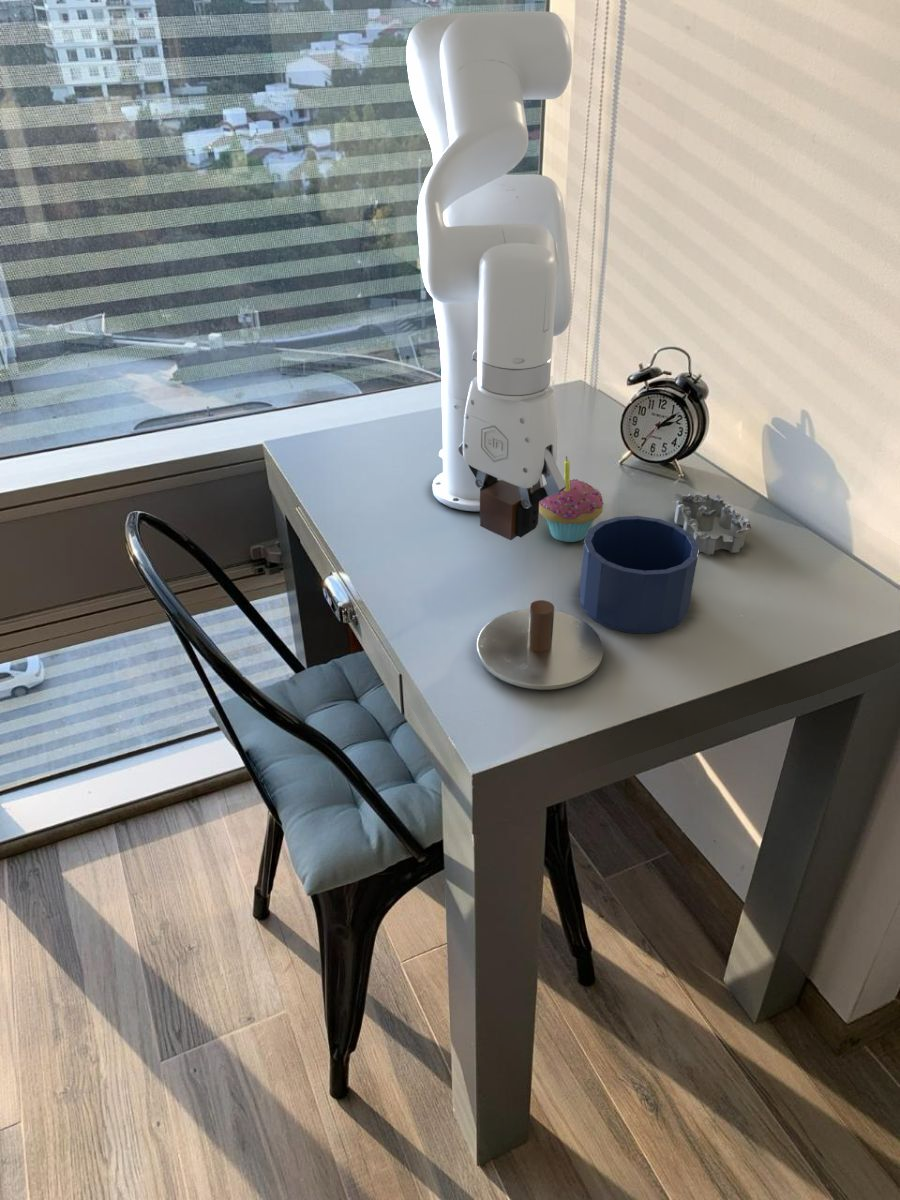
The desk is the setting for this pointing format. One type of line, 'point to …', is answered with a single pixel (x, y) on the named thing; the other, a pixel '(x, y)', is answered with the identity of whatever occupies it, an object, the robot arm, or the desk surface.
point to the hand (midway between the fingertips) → (508, 522)
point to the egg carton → (711, 522)
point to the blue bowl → (637, 574)
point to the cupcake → (571, 509)
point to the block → (500, 508)
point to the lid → (540, 648)
